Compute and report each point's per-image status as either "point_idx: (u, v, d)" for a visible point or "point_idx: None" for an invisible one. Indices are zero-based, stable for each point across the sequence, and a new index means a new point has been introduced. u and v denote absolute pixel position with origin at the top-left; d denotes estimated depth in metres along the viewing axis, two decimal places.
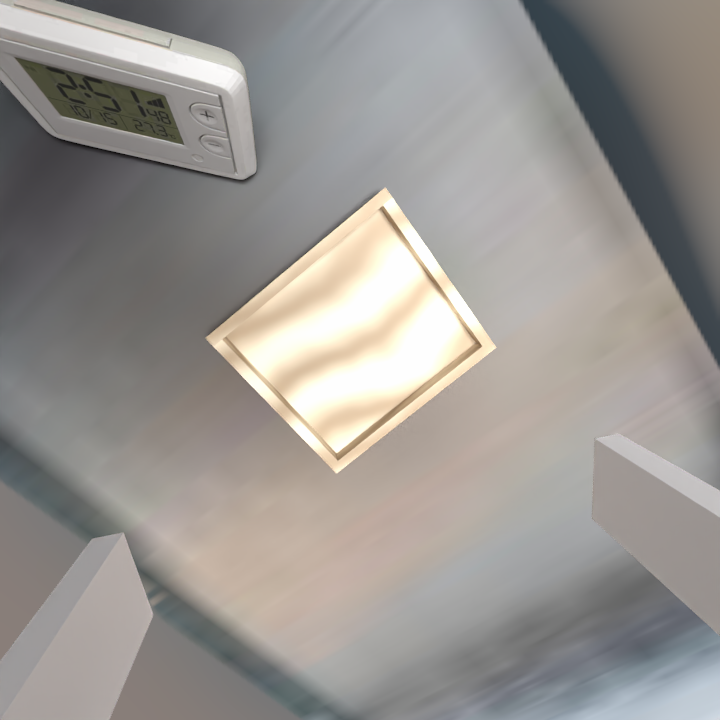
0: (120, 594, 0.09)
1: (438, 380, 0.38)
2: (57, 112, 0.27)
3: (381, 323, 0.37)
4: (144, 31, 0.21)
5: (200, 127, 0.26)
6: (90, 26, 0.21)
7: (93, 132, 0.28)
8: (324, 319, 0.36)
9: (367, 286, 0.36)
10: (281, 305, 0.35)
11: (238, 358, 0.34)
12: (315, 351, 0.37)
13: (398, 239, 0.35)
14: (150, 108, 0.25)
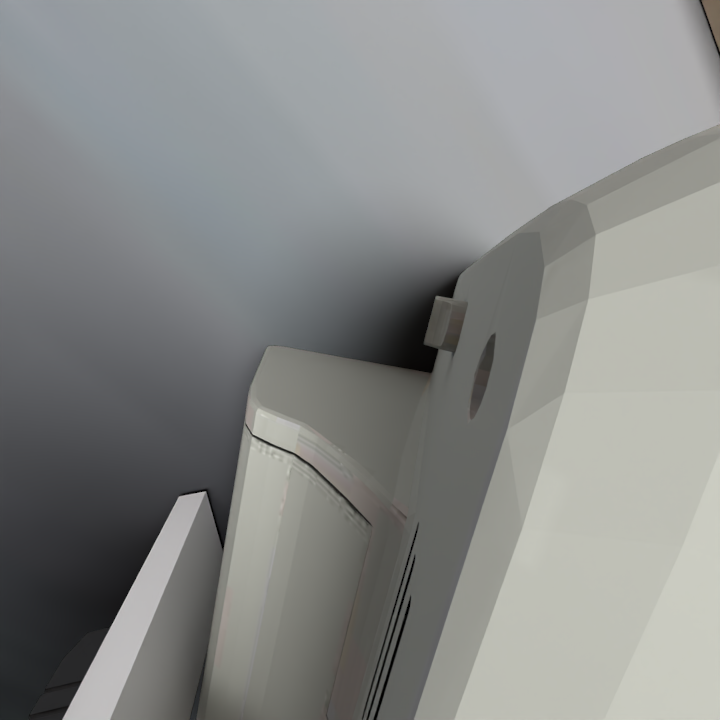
0: (207, 543, 0.11)
1: None
2: None
3: None
4: None
5: None
6: None
7: None
8: None
9: None
10: None
11: None
12: None
13: None
14: None
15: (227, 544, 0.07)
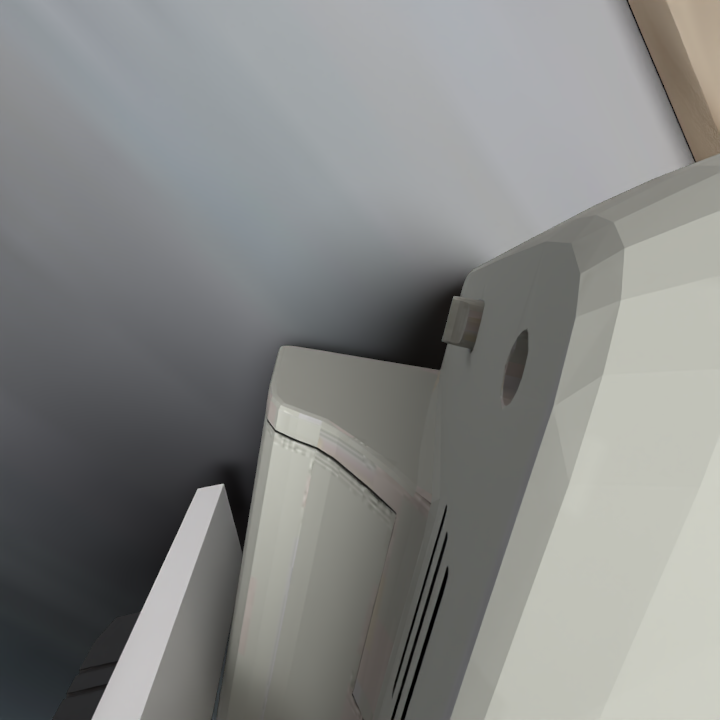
0: (226, 534, 0.11)
1: None
2: None
3: None
4: None
5: None
6: None
7: None
8: None
9: None
10: None
11: None
12: None
13: None
14: None
15: (250, 536, 0.07)
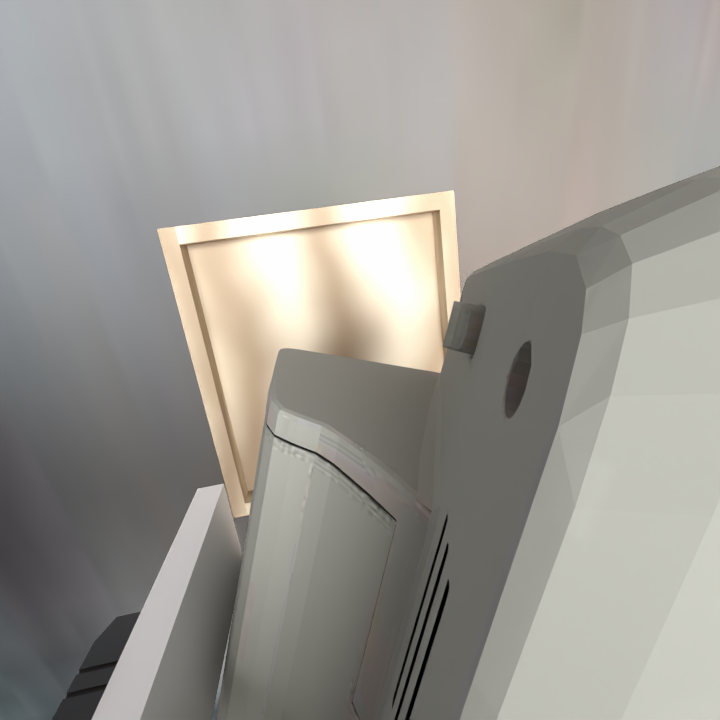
0: (226, 534, 0.11)
1: (445, 294, 0.26)
2: None
3: (332, 321, 0.27)
4: None
5: None
6: None
7: None
8: None
9: (277, 313, 0.26)
10: (246, 420, 0.28)
11: None
12: None
13: (238, 242, 0.25)
14: None
15: (249, 541, 0.07)
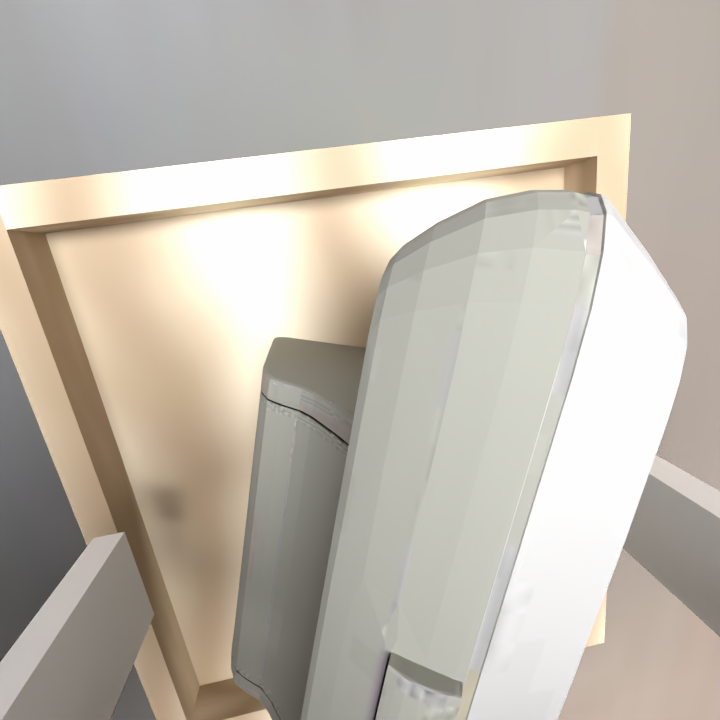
0: (121, 593, 0.09)
1: None
2: None
3: None
4: None
5: None
6: None
7: None
8: None
9: (248, 373, 0.13)
10: (191, 569, 0.15)
11: (247, 715, 0.15)
12: None
13: (161, 228, 0.12)
14: None
15: (252, 486, 0.09)
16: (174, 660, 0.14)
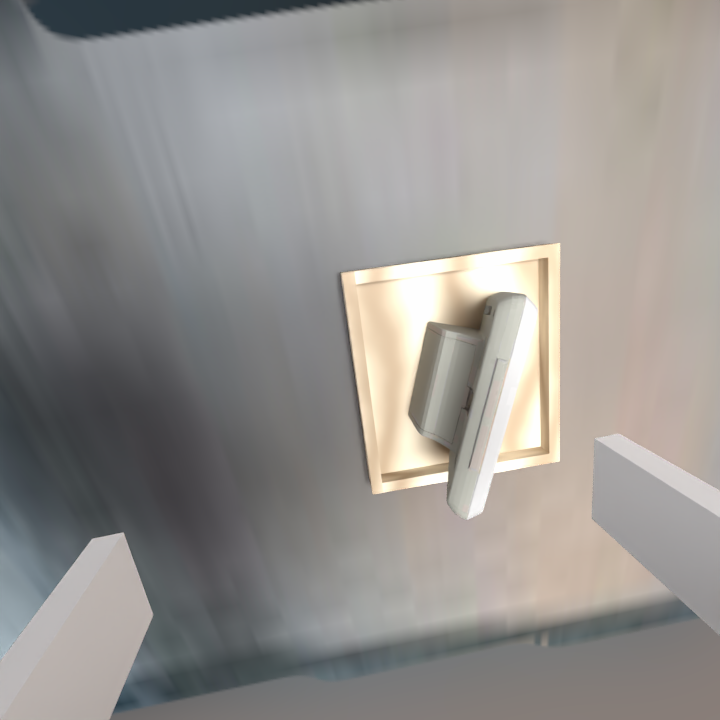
0: (120, 594, 0.09)
1: (548, 321, 0.33)
2: None
3: None
4: (494, 380, 0.24)
5: None
6: (492, 421, 0.25)
7: None
8: None
9: (415, 334, 0.34)
10: (384, 417, 0.36)
11: (405, 479, 0.36)
12: None
13: (392, 281, 0.33)
14: None
15: (435, 365, 0.30)
16: None
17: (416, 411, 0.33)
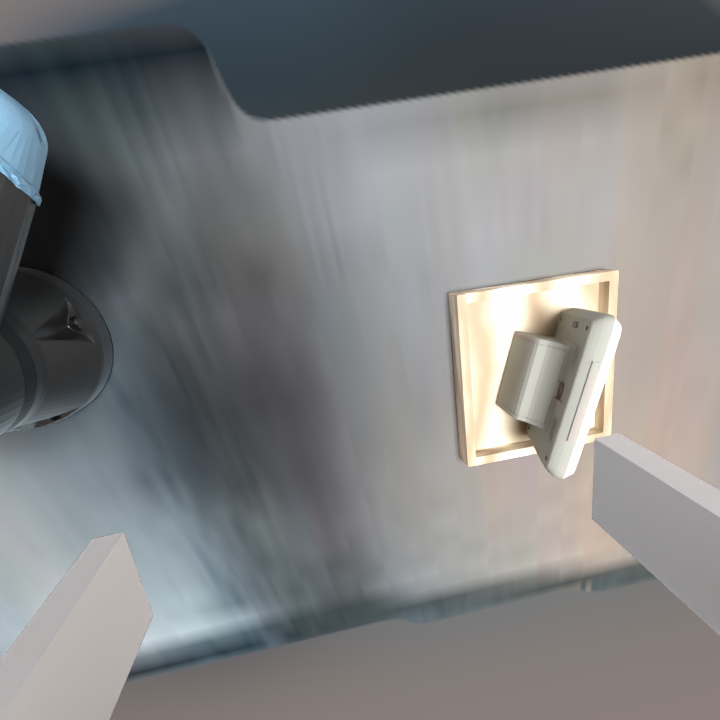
0: (120, 594, 0.09)
1: None
2: None
3: None
4: (589, 376, 0.34)
5: None
6: (586, 406, 0.35)
7: None
8: None
9: (504, 340, 0.43)
10: (476, 406, 0.45)
11: (493, 454, 0.45)
12: None
13: (489, 299, 0.42)
14: None
15: (529, 365, 0.40)
16: None
17: (508, 400, 0.43)
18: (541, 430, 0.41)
